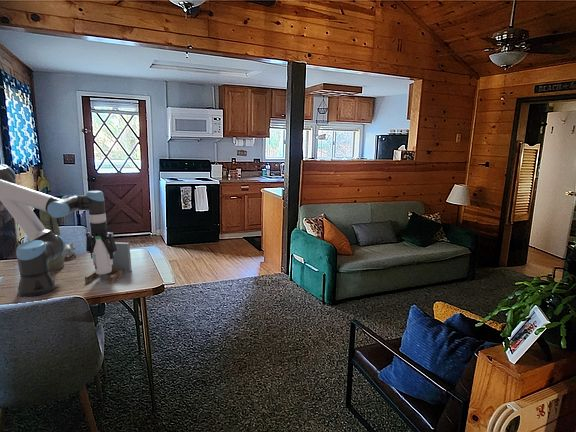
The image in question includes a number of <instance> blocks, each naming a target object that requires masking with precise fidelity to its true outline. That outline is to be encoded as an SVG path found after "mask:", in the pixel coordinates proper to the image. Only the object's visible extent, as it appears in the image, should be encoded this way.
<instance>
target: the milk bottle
mask: <svg viewBox="0 0 576 432" xmlns="http://www.w3.org/2000/svg"><path fill="white" fill-rule="evenodd" d="M95 240H96V244H95V247H94V250H93V254H94V264H95V265H94V271H95V272H96V274H99V276H101V275H102V274H108V273H110V272H111V271H112V265H111V266H109V264H108V255H107V254H108V253H109V252H108V250H107V248H106V246H105V244H104V242H102V240H101V237H100V236H95ZM102 276H103V275H102Z"/></svg>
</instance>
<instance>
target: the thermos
mask: <svg viewBox="0 0 576 432" xmlns="http://www.w3.org/2000/svg"><path fill="white" fill-rule="evenodd" d="M38 212H39V220H40V221H41V223H42V224H43V225H44V227H45V228H46V229H47V230H51V231H52V232H53V233H54V235H58V236H61V232H60V226H59V224H58V219H57V218H55V217H52V216H51V215H50V214H49V213H48V212H46V211H43V210H40V209H39V211H38ZM64 263H65V259H63V254H62V255H61V256H60V257H58V258H57V259H54V260H53V261H51V262H49V263H48V267H49V271H56V270H60V269H64V267H65V264H64Z"/></svg>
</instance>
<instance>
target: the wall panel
mask: <svg viewBox="0 0 576 432" xmlns="http://www.w3.org/2000/svg"><path fill="white" fill-rule="evenodd" d="M109 243H110V242H109ZM115 245H116V249H117V251H115V252H113V256H114V258H113V264H112V269H124V271H126V272H125V273H127V272H128V273H131V272H132V270H133V269H132V257H131V247H130V246H131V245H130V242H121V241H120V242H119V241H118V242H116V241H115ZM130 271H131V272H130Z"/></svg>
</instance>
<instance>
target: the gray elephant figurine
mask: <svg viewBox="0 0 576 432" xmlns="http://www.w3.org/2000/svg"><path fill="white" fill-rule="evenodd" d="M74 250H76V246H74V244H73V242H71V243H66V248H65V251H64V253H63V259H64V260H65V259H66V257H67V256H68V257H70V256H73V257H74V258H77V253H76V252H75V251H74Z"/></svg>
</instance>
